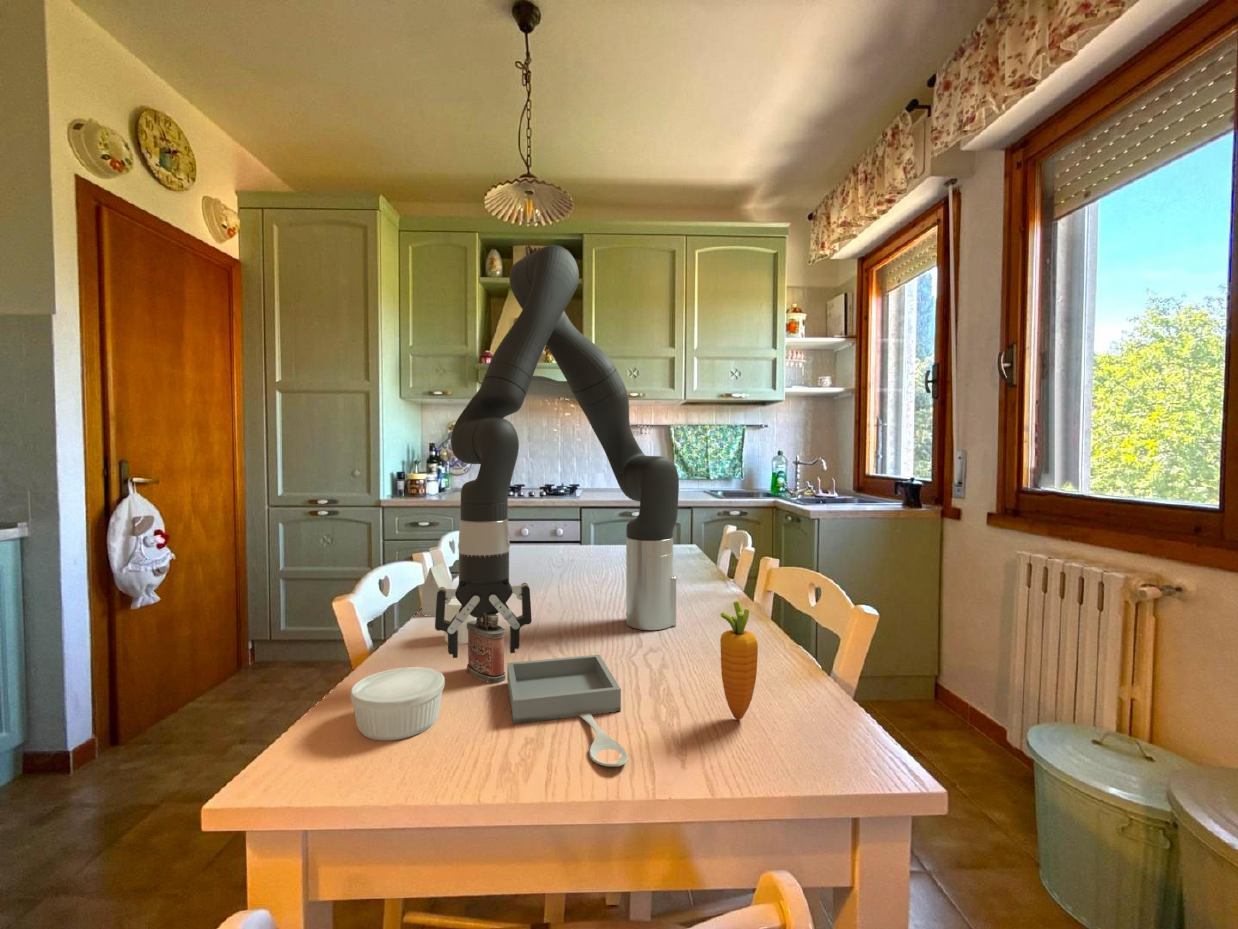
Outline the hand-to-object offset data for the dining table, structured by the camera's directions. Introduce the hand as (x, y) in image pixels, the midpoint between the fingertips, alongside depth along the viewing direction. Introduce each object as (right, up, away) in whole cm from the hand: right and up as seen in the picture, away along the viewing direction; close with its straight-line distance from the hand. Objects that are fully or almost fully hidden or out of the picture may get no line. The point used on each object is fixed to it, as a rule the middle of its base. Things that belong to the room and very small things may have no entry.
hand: (484, 654), depth 87 cm
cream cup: (-8, -3, +17) cm, 19 cm away
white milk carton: (-18, -3, +34) cm, 38 cm away
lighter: (0, -3, 0) cm, 3 cm away
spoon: (+17, -4, -17) cm, 25 cm away
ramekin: (-7, -4, -15) cm, 17 cm away
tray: (+13, -3, -8) cm, 15 cm away
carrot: (+36, -4, -14) cm, 39 cm away
